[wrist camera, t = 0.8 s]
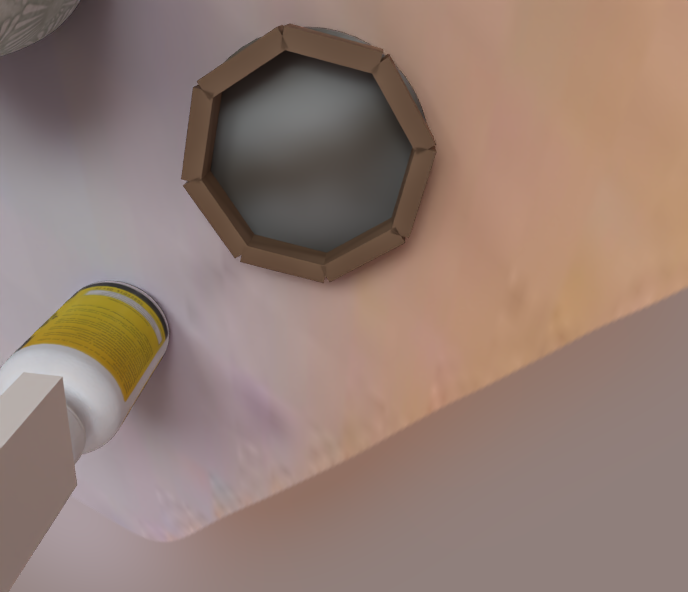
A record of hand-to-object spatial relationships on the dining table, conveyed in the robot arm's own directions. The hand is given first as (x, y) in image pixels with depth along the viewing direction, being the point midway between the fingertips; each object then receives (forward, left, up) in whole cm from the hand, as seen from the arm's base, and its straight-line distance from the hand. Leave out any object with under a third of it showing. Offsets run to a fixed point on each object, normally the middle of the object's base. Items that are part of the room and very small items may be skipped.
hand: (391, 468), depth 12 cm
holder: (-3, -3, -23) cm, 24 cm away
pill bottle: (0, -19, -24) cm, 30 cm away
